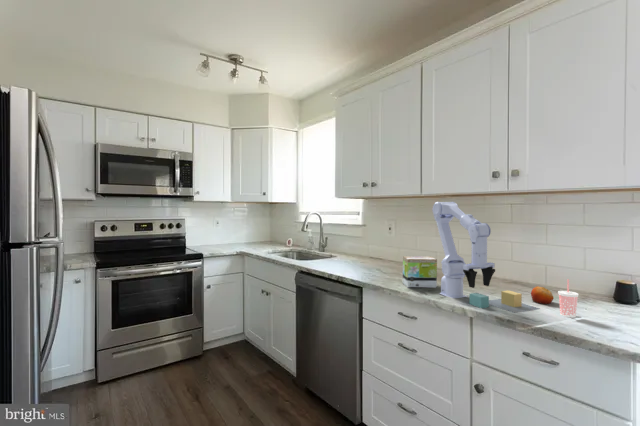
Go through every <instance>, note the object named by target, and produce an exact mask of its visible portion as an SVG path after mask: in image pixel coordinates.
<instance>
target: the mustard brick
mask: <svg viewBox="0 0 640 426" xmlns="http://www.w3.org/2000/svg"><path fill="white" fill-rule="evenodd" d="M500 292H501V295H500V299H501V303H502V304H505V305H508V306H511V307H520V306H522V303H523V302H522V301H523V300H522V297H523V296H522V293H519V292H516V291H512V290H509V289H507V290H503V291H502V290H501V291H500Z"/></svg>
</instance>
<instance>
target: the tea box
mask: <svg viewBox="0 0 640 426" xmlns="http://www.w3.org/2000/svg"><path fill="white" fill-rule="evenodd" d="M437 271H438V259H436V258H434V257H433V256H426V255H425V256H424V255H423V256H420V255H418V256H417V255H416V256H414V255H412V256H411V255H409V256H407V255H406V256H405V255H404V256H402V284H403V285H404V286H405V287H406V288H432V289H433V288H435V289H436V288H437V285H438V284H437V283H438V282H437V280H438V279H437V277H438V276H437V274H438V273H437Z"/></svg>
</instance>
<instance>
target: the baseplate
mask: <svg viewBox="0 0 640 426" xmlns="http://www.w3.org/2000/svg"><path fill="white" fill-rule="evenodd" d="M489 306H492V307H495V308H498V309H502V310H504V311H507V312H510V313H513V314H516V313H517V314H518V313H522V312H523V313H524V312H529V311H536V310H541V308H539V307H535V306H534V305H533V306H532V305H530V304H526V303H523V302H522V306H520V307H511V306H508V305H505V304H502V303H501V298H496V299H489Z"/></svg>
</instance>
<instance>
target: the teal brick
mask: <svg viewBox="0 0 640 426" xmlns="http://www.w3.org/2000/svg"><path fill="white" fill-rule="evenodd" d="M468 296H469V305H471V306H474V307H476V308H479V309H486V308H489V307H490V305H489V300H490V298H489V295H485V294H482V293H479V292H472V293H471V292H470V293H469V295H468Z"/></svg>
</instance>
